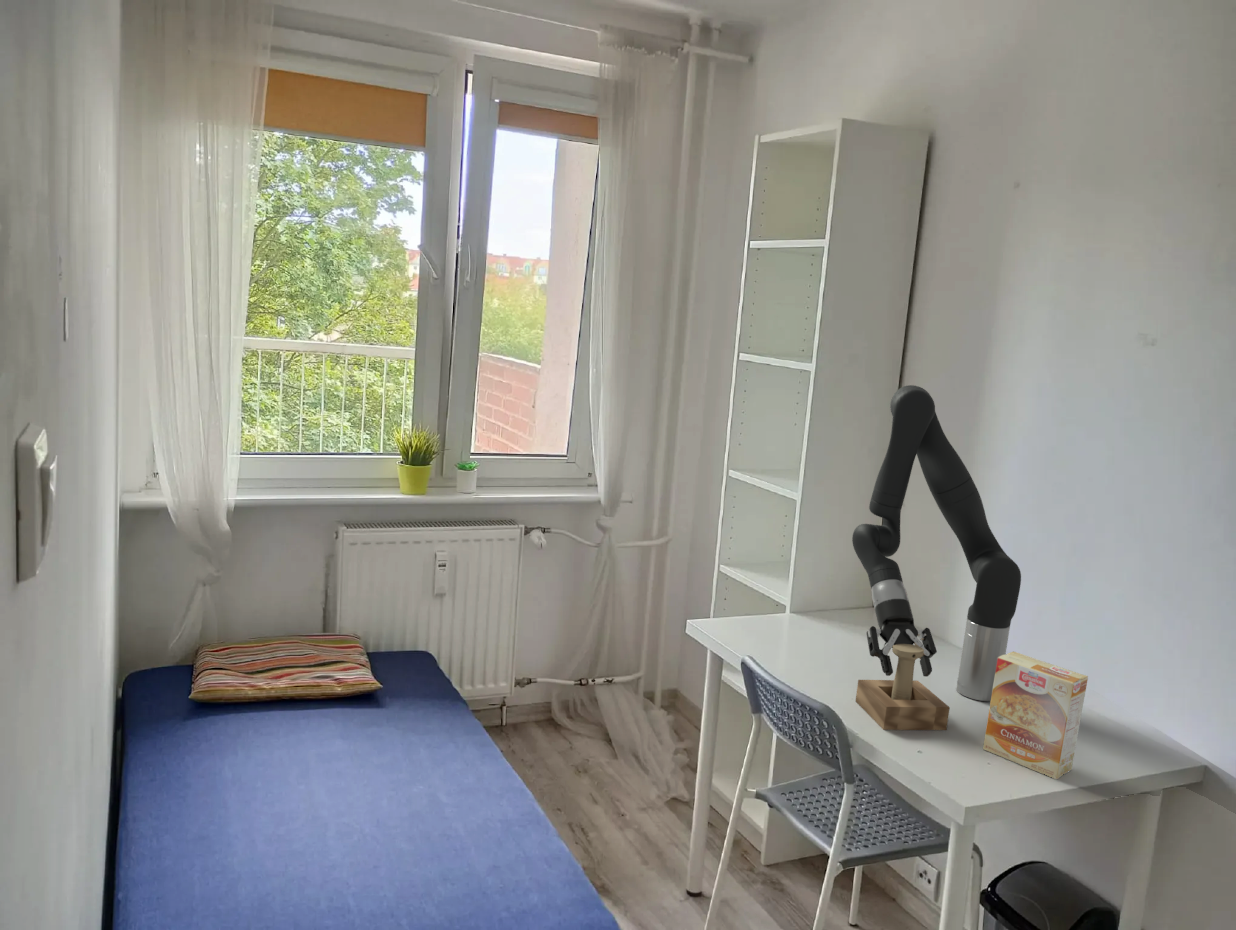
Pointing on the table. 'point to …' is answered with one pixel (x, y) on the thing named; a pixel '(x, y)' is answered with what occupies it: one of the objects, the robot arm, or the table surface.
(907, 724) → the socket block
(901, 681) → the handle
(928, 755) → the table surface
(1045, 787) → the table surface
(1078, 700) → the coffeecake box
